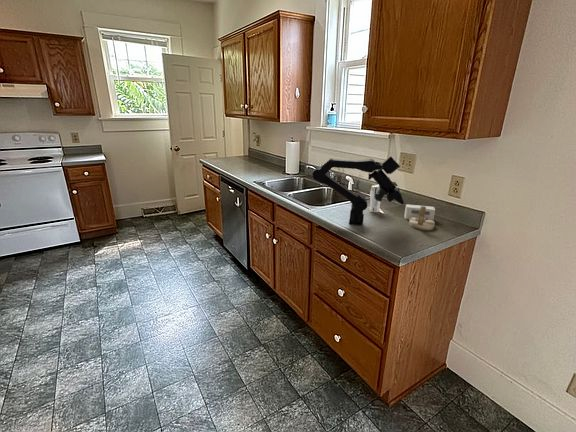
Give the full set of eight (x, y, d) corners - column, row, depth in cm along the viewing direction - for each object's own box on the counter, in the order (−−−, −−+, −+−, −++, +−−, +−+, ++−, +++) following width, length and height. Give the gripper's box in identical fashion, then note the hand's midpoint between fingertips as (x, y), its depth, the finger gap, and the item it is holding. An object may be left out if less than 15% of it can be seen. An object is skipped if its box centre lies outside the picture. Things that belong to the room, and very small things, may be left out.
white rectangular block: (405, 220, 168) (407, 207, 165) (404, 216, 173) (406, 204, 171) (433, 222, 165) (435, 210, 163) (431, 218, 170) (433, 206, 168)
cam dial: (411, 219, 168) (415, 199, 164) (435, 224, 162) (440, 203, 158) (406, 226, 159) (410, 205, 155) (431, 232, 152) (436, 209, 148)
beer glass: (382, 210, 181) (386, 185, 176) (377, 213, 176) (380, 188, 171) (371, 208, 185) (374, 183, 180) (365, 210, 180) (368, 185, 175)
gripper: (369, 186, 164) (388, 207, 166) (369, 195, 147) (390, 220, 149) (386, 172, 160) (406, 194, 161) (389, 180, 143) (411, 205, 144)
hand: (403, 203), depth 154 cm, fingers closed
